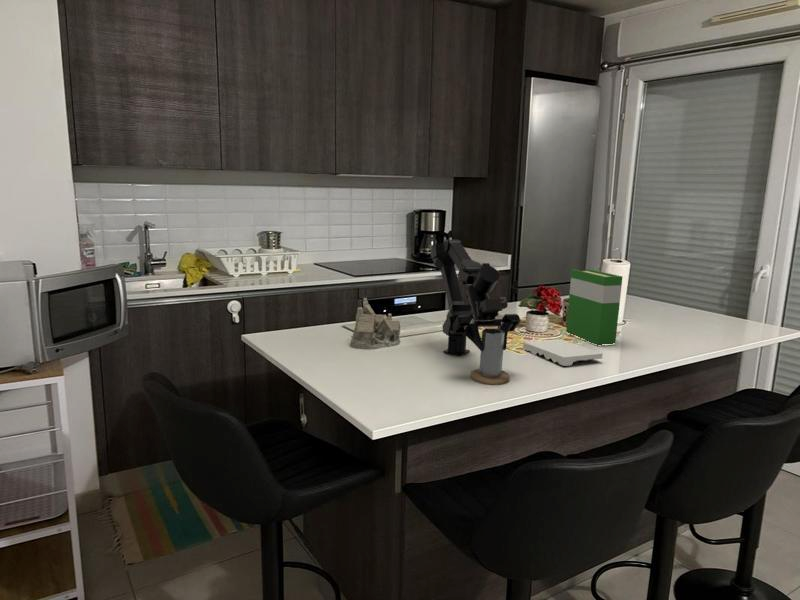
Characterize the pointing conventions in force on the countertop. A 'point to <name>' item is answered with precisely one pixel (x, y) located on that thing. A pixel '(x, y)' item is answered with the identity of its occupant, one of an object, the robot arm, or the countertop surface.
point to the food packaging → (561, 351)
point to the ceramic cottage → (374, 329)
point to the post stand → (491, 381)
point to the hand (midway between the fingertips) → (493, 350)
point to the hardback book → (594, 306)
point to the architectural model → (492, 326)
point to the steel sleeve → (492, 353)
